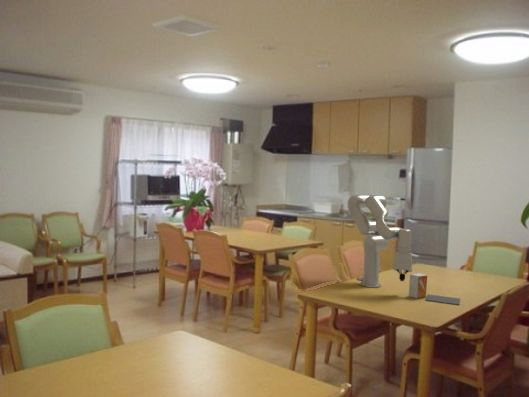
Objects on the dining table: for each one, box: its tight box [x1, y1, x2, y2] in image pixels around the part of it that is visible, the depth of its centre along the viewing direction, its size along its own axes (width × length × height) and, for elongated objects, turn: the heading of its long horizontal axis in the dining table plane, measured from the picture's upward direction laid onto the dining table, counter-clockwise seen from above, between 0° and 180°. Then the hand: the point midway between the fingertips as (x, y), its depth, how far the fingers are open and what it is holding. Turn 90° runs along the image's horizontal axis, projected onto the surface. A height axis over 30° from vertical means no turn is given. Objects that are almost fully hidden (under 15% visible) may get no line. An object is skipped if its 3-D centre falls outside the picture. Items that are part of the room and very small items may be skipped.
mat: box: [424, 293, 461, 306], centre depth 281 cm, size 18×14×1 cm
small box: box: [408, 272, 428, 299], centre depth 286 cm, size 8×6×13 cm
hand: (402, 280), depth 290 cm, fingers closed
